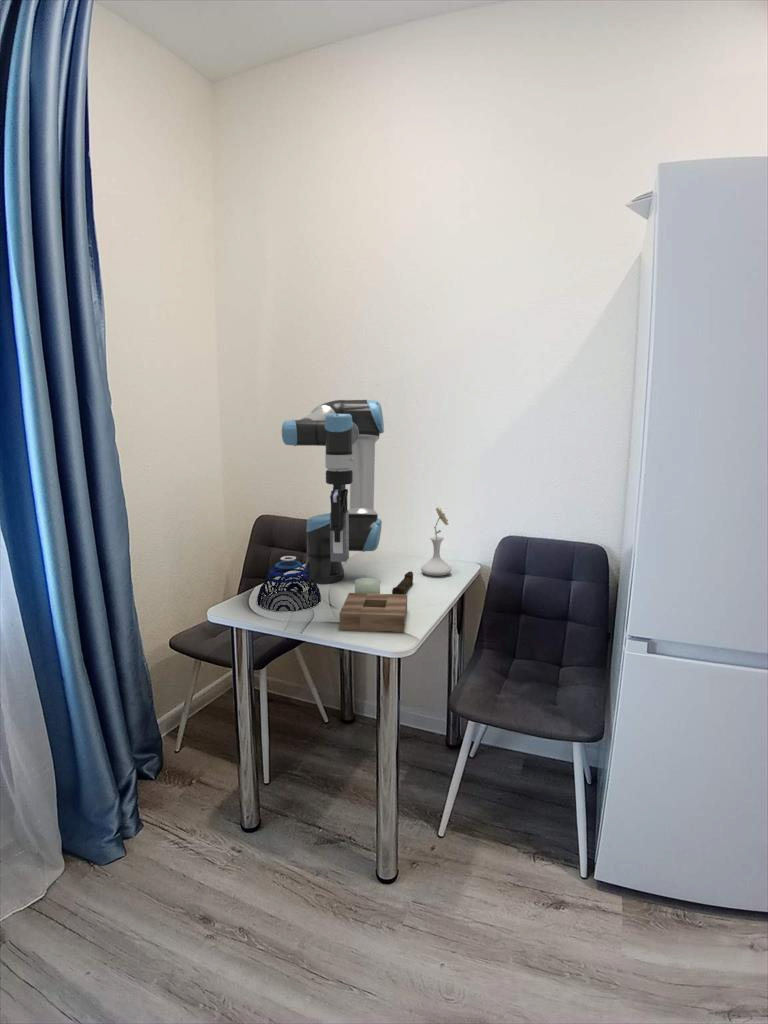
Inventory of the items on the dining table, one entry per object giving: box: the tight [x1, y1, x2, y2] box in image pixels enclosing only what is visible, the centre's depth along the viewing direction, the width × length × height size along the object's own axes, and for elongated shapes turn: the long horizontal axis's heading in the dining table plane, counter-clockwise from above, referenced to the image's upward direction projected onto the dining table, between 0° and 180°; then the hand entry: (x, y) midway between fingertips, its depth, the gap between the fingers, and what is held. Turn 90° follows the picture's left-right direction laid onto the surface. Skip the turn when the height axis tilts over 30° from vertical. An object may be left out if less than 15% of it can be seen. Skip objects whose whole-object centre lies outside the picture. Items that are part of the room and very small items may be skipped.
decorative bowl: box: [256, 555, 322, 612], centre depth 183 cm, size 20×20×14 cm
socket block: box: [339, 592, 408, 633], centre depth 167 cm, size 18×18×5 cm
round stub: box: [354, 577, 381, 594], centre depth 182 cm, size 8×8×7 cm
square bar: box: [329, 511, 350, 563], centre depth 163 cm, size 4×4×14 cm
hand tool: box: [391, 570, 414, 594], centre depth 195 cm, size 19×4×5 cm, turn 161°
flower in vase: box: [420, 506, 452, 577], centre depth 213 cm, size 13×11×25 cm
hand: (339, 550), depth 164 cm, fingers closed on square bar, 4 cm apart
